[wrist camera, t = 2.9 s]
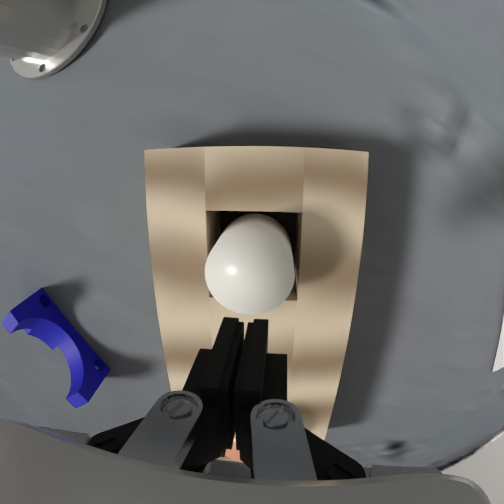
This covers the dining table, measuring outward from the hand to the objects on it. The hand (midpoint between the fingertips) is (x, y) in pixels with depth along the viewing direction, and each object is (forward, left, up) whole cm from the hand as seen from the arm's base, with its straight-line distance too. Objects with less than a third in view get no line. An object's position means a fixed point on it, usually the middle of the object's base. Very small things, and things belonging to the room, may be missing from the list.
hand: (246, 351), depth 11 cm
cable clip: (+12, -22, -15) cm, 29 cm away
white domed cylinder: (0, 0, -11) cm, 11 cm away
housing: (+8, 0, -14) cm, 16 cm away
